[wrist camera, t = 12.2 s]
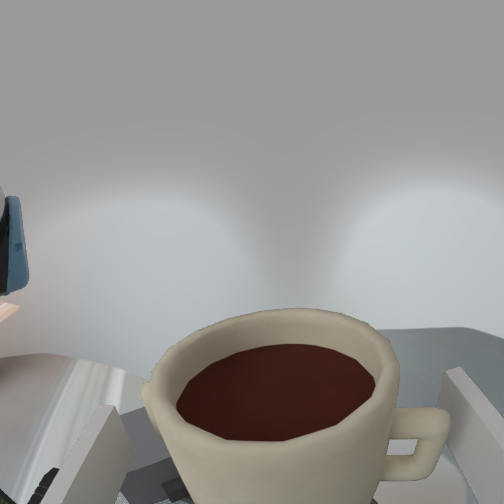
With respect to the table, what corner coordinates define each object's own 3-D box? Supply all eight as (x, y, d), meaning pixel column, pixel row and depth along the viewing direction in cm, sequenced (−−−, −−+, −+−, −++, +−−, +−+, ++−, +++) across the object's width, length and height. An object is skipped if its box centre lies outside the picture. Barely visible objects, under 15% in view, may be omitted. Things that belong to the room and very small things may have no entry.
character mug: (399, 501, 13) (447, 304, 10) (380, 603, 7) (495, 464, 3) (227, 480, 17) (177, 301, 14) (174, 561, 11) (54, 390, 8)
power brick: (113, 457, 20) (94, 423, 19) (177, 434, 23) (164, 399, 22) (149, 540, 13) (124, 512, 12) (231, 506, 16) (219, 475, 15)
